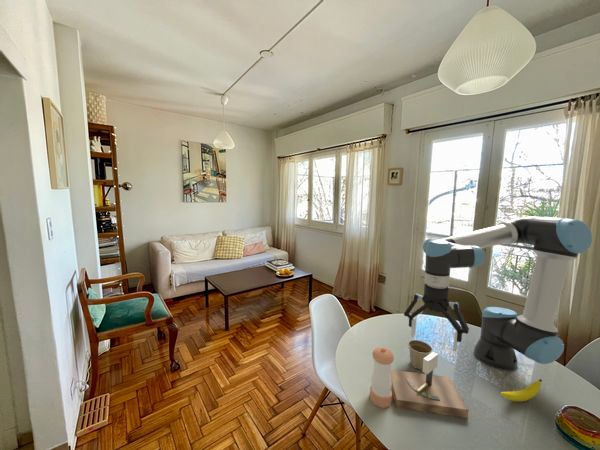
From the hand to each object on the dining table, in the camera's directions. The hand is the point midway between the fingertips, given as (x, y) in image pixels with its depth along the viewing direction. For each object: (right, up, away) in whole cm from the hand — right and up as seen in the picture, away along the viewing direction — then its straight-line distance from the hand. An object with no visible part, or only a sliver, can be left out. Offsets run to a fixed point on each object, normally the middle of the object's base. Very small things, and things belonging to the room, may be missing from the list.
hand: (433, 342), depth 89 cm
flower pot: (+3, -18, +17) cm, 25 cm away
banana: (+30, -20, -1) cm, 36 cm away
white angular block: (-2, -16, +1) cm, 16 cm away
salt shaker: (-20, -20, -2) cm, 28 cm away
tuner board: (-3, -19, 0) cm, 20 cm away
